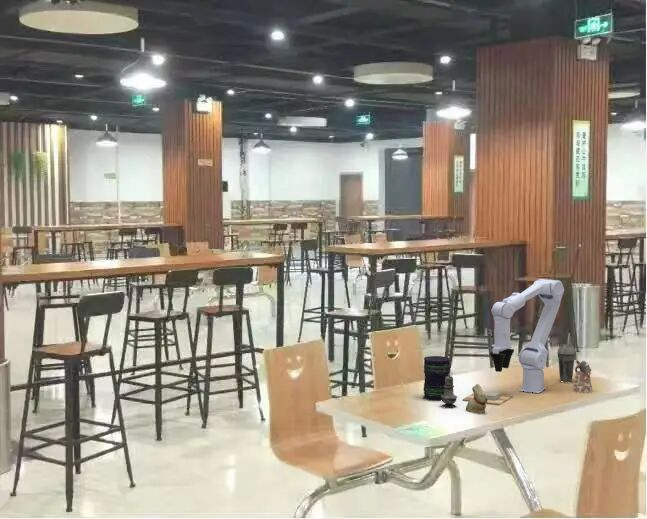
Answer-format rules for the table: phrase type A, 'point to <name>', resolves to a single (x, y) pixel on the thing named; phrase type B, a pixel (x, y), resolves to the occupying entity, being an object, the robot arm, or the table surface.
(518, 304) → the robot arm
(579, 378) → the figurine
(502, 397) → the wooden board
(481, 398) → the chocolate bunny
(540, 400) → the table surface
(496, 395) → the tile
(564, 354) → the beverage cup
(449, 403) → the salt shaker
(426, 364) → the storage jar
